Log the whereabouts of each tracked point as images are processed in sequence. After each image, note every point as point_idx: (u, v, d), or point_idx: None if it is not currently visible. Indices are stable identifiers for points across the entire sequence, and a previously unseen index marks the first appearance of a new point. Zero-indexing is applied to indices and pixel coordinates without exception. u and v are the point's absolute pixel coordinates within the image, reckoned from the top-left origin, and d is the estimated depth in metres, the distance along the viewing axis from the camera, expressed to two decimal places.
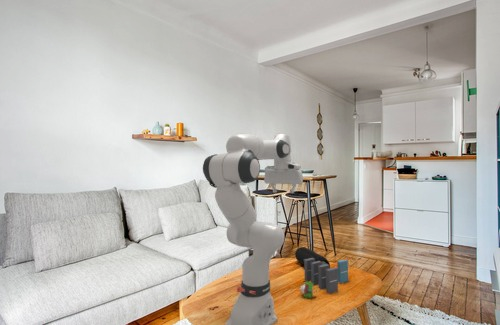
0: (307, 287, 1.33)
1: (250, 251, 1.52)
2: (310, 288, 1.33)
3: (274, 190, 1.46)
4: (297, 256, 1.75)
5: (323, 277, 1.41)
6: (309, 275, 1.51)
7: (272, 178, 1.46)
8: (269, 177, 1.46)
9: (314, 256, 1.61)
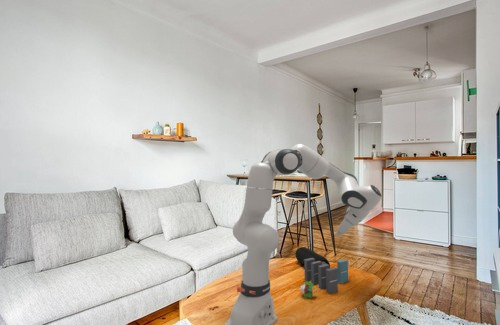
0: (307, 287, 1.33)
1: None
2: (310, 288, 1.33)
3: None
4: (297, 256, 1.75)
5: (323, 277, 1.41)
6: (309, 275, 1.51)
7: None
8: None
9: (314, 256, 1.61)
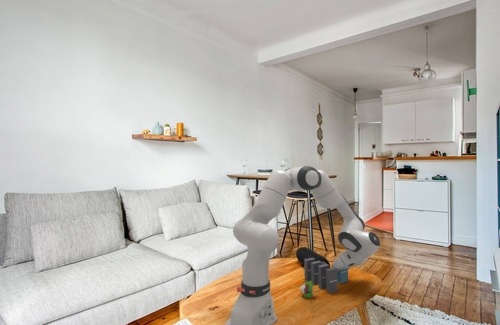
0: (307, 287, 1.33)
1: None
2: (310, 288, 1.33)
3: None
4: (298, 256, 1.75)
5: (323, 277, 1.41)
6: (309, 275, 1.51)
7: None
8: None
9: (314, 256, 1.62)
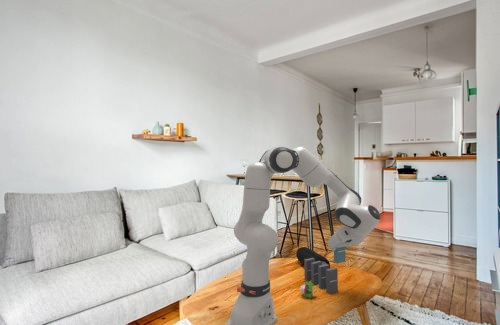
0: (307, 287, 1.33)
1: None
2: (310, 288, 1.33)
3: None
4: (298, 256, 1.75)
5: (323, 277, 1.41)
6: (309, 275, 1.51)
7: None
8: None
9: (314, 256, 1.62)
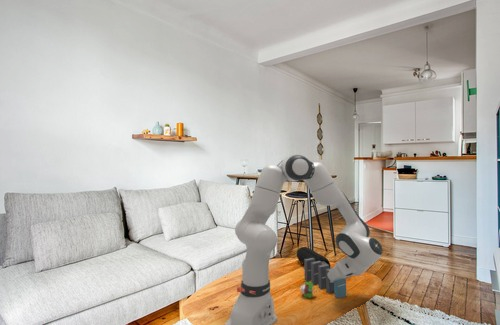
0: (307, 287, 1.33)
1: None
2: (310, 288, 1.33)
3: None
4: (298, 256, 1.75)
5: (323, 277, 1.41)
6: (309, 275, 1.51)
7: None
8: None
9: (315, 256, 1.62)
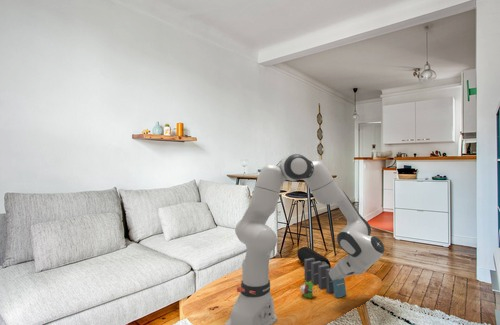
0: (307, 287, 1.33)
1: None
2: (310, 288, 1.33)
3: None
4: (299, 256, 1.75)
5: (323, 277, 1.41)
6: (309, 275, 1.51)
7: None
8: None
9: (315, 256, 1.62)
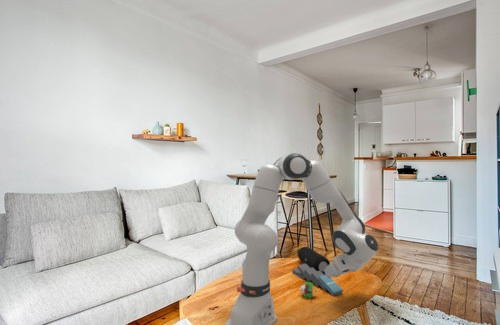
0: (307, 287, 1.33)
1: None
2: (310, 288, 1.33)
3: None
4: (299, 256, 1.75)
5: None
6: None
7: None
8: None
9: (315, 256, 1.62)
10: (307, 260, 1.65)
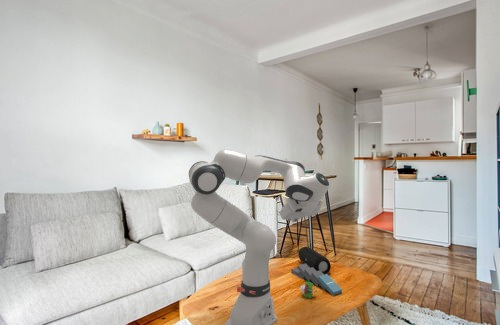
0: (307, 287, 1.33)
1: None
2: (310, 288, 1.33)
3: None
4: (300, 256, 1.76)
5: None
6: None
7: None
8: None
9: (315, 256, 1.62)
10: (307, 260, 1.66)
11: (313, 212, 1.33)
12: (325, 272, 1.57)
